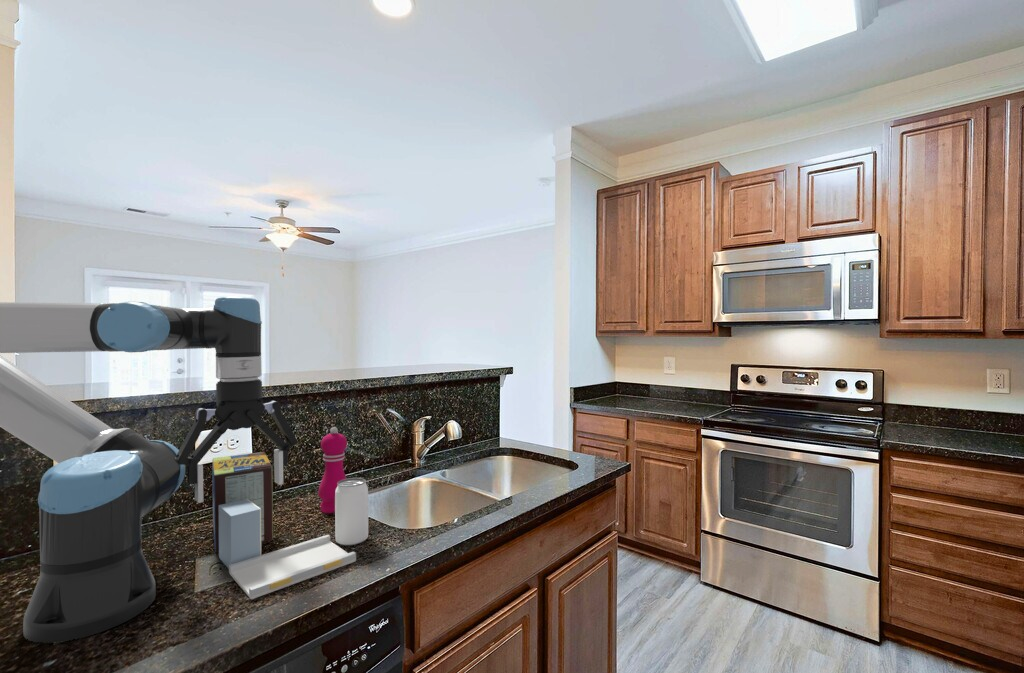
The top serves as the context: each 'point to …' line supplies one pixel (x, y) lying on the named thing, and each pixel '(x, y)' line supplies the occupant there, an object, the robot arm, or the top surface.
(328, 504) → the pepper mill
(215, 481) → the protein box
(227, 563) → the tea box
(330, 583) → the top surface
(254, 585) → the white tray
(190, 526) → the top surface
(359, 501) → the can
